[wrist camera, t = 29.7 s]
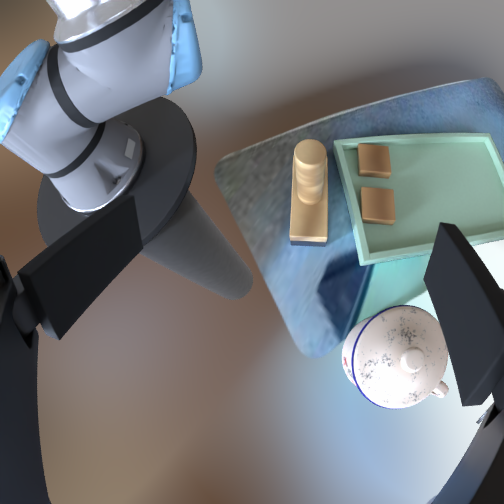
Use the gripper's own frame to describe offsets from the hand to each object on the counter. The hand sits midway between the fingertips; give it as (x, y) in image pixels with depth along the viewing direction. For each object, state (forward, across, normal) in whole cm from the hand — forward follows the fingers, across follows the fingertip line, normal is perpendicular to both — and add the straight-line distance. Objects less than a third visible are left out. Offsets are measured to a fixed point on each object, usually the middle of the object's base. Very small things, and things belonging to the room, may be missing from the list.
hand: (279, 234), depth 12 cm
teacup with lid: (+12, +12, -20) cm, 26 cm away
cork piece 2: (+24, +9, -7) cm, 26 cm away
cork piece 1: (+28, +8, -3) cm, 29 cm away
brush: (+24, +1, -8) cm, 25 cm away
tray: (+27, +17, -5) cm, 32 cm away
